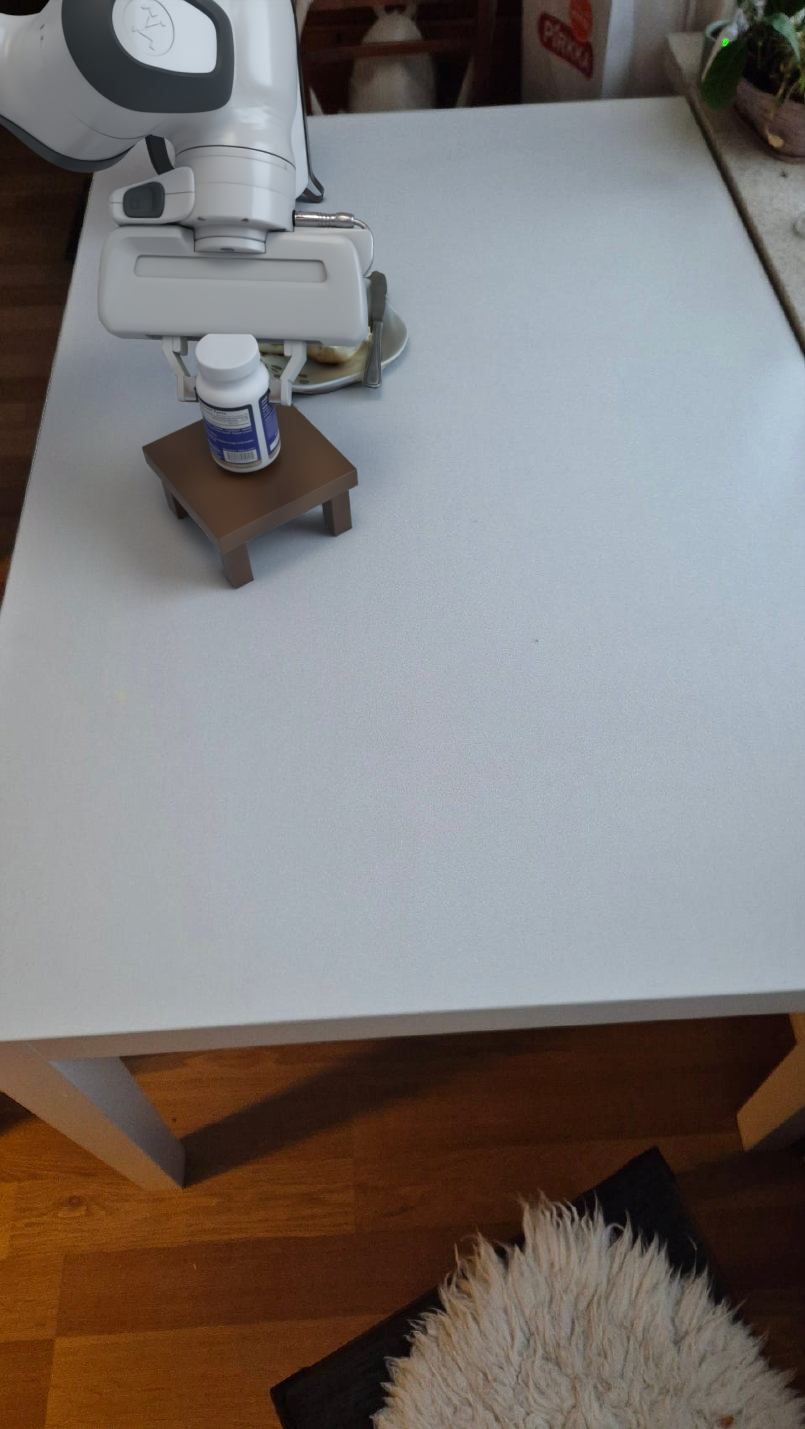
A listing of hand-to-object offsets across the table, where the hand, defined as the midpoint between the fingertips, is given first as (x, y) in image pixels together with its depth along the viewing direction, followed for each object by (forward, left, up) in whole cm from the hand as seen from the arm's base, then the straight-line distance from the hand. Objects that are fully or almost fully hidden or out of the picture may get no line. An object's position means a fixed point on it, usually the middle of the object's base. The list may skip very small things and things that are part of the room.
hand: (234, 403), depth 78 cm
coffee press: (+25, +43, -13) cm, 52 cm away
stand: (0, 0, -13) cm, 13 cm away
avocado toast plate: (+18, +18, -13) cm, 29 cm away
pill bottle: (0, 0, -5) cm, 6 cm away
